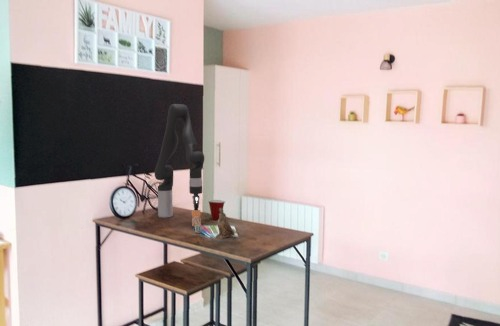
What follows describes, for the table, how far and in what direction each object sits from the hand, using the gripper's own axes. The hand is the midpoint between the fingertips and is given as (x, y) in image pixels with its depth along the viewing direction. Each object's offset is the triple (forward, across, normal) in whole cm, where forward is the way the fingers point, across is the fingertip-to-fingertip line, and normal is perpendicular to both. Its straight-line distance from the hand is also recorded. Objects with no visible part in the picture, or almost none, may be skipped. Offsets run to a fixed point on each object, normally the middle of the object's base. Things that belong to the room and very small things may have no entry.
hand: (196, 214), depth 253 cm
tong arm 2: (+6, -10, -1) cm, 12 cm away
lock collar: (+6, -4, 0) cm, 7 cm away
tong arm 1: (+6, -10, +1) cm, 12 cm away
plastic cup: (+7, +13, -14) cm, 20 cm away
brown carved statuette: (+7, -28, -14) cm, 32 cm away
